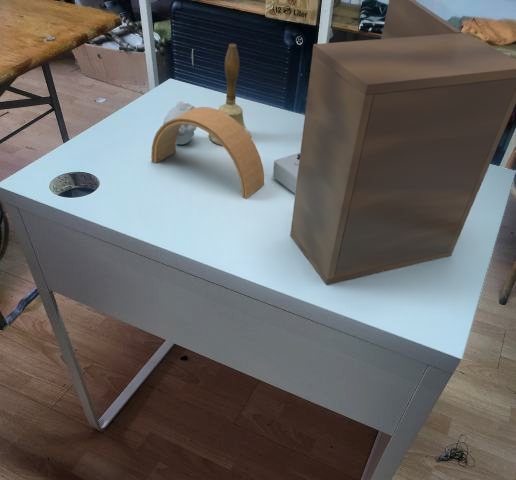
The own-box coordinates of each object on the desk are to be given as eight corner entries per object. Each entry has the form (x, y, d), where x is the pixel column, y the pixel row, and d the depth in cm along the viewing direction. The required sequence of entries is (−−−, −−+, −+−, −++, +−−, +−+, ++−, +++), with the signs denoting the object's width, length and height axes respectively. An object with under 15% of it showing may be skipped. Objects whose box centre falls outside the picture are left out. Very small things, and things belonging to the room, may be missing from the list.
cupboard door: (390, 147, 96) (432, -12, 77) (438, 207, 83) (503, 31, 64) (357, 149, 95) (391, -13, 76) (401, 210, 82) (455, 32, 63)
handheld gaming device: (271, 179, 86) (273, 158, 83) (335, 158, 92) (339, 138, 89) (303, 204, 82) (307, 183, 79) (368, 181, 88) (373, 160, 85)
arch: (172, 149, 91) (168, 92, 84) (264, 184, 85) (268, 126, 77) (151, 161, 88) (145, 103, 81) (245, 199, 81) (248, 139, 74)
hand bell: (229, 123, 100) (230, 33, 88) (260, 137, 97) (265, 45, 85) (199, 136, 95) (196, 43, 84) (231, 151, 92) (232, 56, 80)
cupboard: (289, 236, 75) (313, 44, 56) (406, 213, 81) (463, 32, 62) (326, 285, 68) (367, 84, 49) (450, 256, 74) (531, 67, 55)
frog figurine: (206, 143, 94) (206, 105, 89) (177, 154, 90) (174, 115, 85) (186, 131, 97) (184, 94, 91) (157, 141, 93) (153, 103, 88)
